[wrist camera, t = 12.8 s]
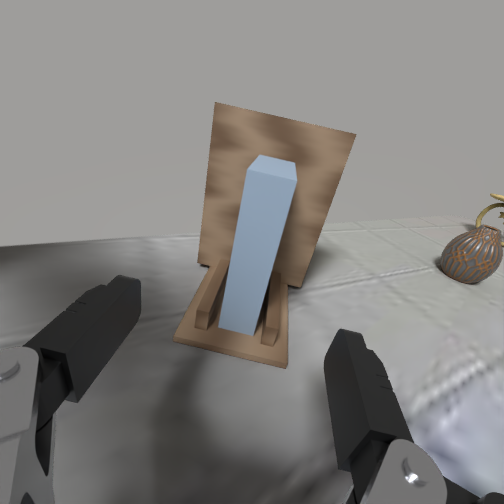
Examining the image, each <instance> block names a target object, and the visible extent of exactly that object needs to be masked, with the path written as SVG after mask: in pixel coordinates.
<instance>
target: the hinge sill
mask: <svg viewBox="0 0 504 504" xmlns="http://www.w3.org/2000/svg"><path fill="white" fill-rule="evenodd" d="M355 137H356V134H353V133H349V132H344V131H339V130H335V129H330V128H326V127H322V126H318V125H313V124H309V123H305V122H300V121H296V120H291V119H287V118H283V117H278V116H274V115H270V114H265V113H260V112H257V111H252V110H248V109H243V108H239V107H235V106H230V105H226V104H221V103H217V102H215V107H214V116H213V125H212V134H211V143H210V153H209V161H208V171H207V181H206V189H205V198H204V208H203V217H202V225H201V235H200V244H199V253H198V262H197V263H200V264H204V265H208V266H210V267H209V269H208V271H207V273H206V275H205V277H204V279H203V281H202V282H201V284H200V286H199V288H198V290H197V292H196V294H195V296H194V298H193V300H192V301H191V303H190V305H189V307H188V309H187V311H186V313H185V315H184V317H183V319H182V320H181V322H180V324H179V326H178V328H177V330H176V332H175V334H174V336H173V341H174V342H178V343H182V344H186V345H190V346H194V347H199V348H203V349H207V350H211V351H215V352H219V353H223V354H227V355H231V356H235V357H239V358H244V359H248V360H252V361H256V362H260V363H264V364H268V365H272V366H276V367H280V368H284V369H286V366H287V364H288V285H292V286H296V287H301V285H302V282H303V279H304V277H305V274H306V271H307V269H308V266H309V263H310V260H311V258H312V255H313V252H314V249H315V247H316V244H317V241H318V238H319V236H320V233H321V230H322V227H323V225H324V222H325V219H326V217H327V214H328V211H329V208H330V206H331V203H332V200H333V197H334V195H335V191H336V189H337V186H338V184H339V181H340V178H341V175H342V173H343V170H344V167H345V164H346V162H347V159H348V156H349V153H350V151H351V148H352V145H353V142H354V140H355ZM259 155H264V156H268V157H272V158H277V159H281V160H285V161H290V162H294V163H295V167H296V175H297V183H296V187H295V190H294V194H293V197H292V201H291V204H290V208H289V211H288V215H287V219H286V222H285V226H284V229H283V233H282V236H281V240H280V243H279V247H278V250H277V254H276V257H275V261H274V264H273V268H272V271H271V275H270V278H269V282H268V285H267V289H266V292H265V296H264V300H263V303H262V307H261V310H260V314H259V317H258V321H257V324H256V328H255V331H254V335H253V336H251V335H247V334H243V333H239V332H235V331H231V330H227V329H223V328H219V327H218V325H219V320H220V314H221V309H222V303H223V298H224V293H225V287H226V282H227V276H228V271H229V265H230V260H231V254H232V249H233V244H234V238H235V233H236V227H237V222H238V216H239V211H240V205H241V200H242V195H243V189H244V184H245V178H246V173H247V169H248V168H249V166H250V165H251V164H252V163H253V162H254V161H255V159H256V158H257V157H258V156H259Z"/></svg>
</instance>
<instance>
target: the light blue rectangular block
mask: <svg viewBox="0 0 504 504" xmlns="http://www.w3.org/2000/svg"><path fill="white" fill-rule="evenodd" d="M296 183H297V175H296V167H295V163H294V162H290V161H285V160H281V159H277V158H272V157H268V156H264V155H259V156H258V157H257V158H256V159H255V161H254V162H253V163H252V164H251V165H250V166H249V168H248V169H247V173H246V178H245V184H244V189H243V195H242V200H241V205H240V211H239V216H238V222H237V227H236V233H235V238H234V244H233V249H232V254H231V260H230V265H229V271H228V276H227V282H226V287H225V293H224V298H223V303H222V309H221V314H220V320H219V325H218V327H219V328H223V329H227V330H231V331H235V332H239V333H243V334H247V335H251V336H253V335H254V331H255V328H256V324H257V321H258V317H259V314H260V310H261V307H262V303H263V300H264V296H265V292H266V289H267V285H268V282H269V278H270V275H271V271H272V268H273V264H274V261H275V257H276V254H277V250H278V247H279V243H280V240H281V236H282V233H283V229H284V226H285V222H286V219H287V215H288V211H289V208H290V204H291V201H292V197H293V194H294V190H295V187H296Z"/></svg>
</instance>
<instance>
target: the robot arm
mask: <svg viewBox="0 0 504 504" xmlns="http://www.w3.org/2000/svg"><path fill="white" fill-rule="evenodd" d="M140 313H141V283H140V280H138V279H135V278H130V277H126V276H122V275H118V276H116V277H115V278H114V279H113V280H112V281H111V282H110V283H109V284H108V285H107V286H106V285H99V286H97V287H95V288H93V289H91V290H89V291H87V292H85V293H84V294H83V295H82V296H81V297H80V298H78V299H77V300H76V301H75V303H73V304H71V305H70V306H69V307H68V308H67V309H66V311H63V312H62V313H61V314H60V315H59V316H57V317H56V318H55V319H54V320H53V321H52V322H50V323H49V324H48V325H47V326H46V327H45V328H44V329H42V330H41V331H40V332H39V333H38V334H37V335H35V336H34V337H33V338H32V339H31V340H30V341H28V342H27V343H26V344H25V345H23V346H22V347H12V348H7V349H3V350H1V351H0V504H55V500H54V491H53V464H54V448H55V431H56V410H57V409H58V408H59V406H60V405H61V404H62V402H63V401H64V400H67V401H71V402H75V403H78V402H79V400H80V399H81V398H82V396H83V395H84V394H85V392H86V391H87V389H88V388H89V387H90V385H91V384H92V383H93V381H94V380H95V379H96V377H97V376H98V375H99V373H100V372H101V370H102V369H103V368H104V366H105V365H106V364H107V362H108V361H109V360H110V358H111V357H112V356H113V354H114V353H115V351H116V350H117V349H118V347H119V346H120V345H121V343H122V342H123V341H124V339H125V338H126V337H127V335H128V334H129V333H130V331H131V330H132V328H133V327H134V326H135V324H136V323H137V321H138V319H139V316H140ZM324 374H325V381H326V388H327V395H328V402H329V409H330V415H331V422H332V429H333V436H334V443H335V449H336V456H337V463H338V469H340V470H344V471H348V472H351V474H352V479H353V484H352V485H351V487H350V489H349V491H348V493H347V495H346V497H345V499H344V501H343V503H342V504H504V495H503V494H500V493H496V492H492V493H489V494H487V495H485V496H484V497H482V498H479V497H477V496H476V495H474V494H472V493H471V492H469V491H467V490H466V489H464V488H462V487H460V486H459V485H457V484H455V483H454V482H452V481H450V480H449V479H447V478H445V477H444V476H443V475H442V473H441V472H440V470H439V468H438V467H437V465H436V463H435V462H434V461H433V460H432V458H431V457H430V456H429V455H428V454H427V453H426V452H425V451H424V450H423V449H421V448H420V447H419V446H417V445H416V444H415V443H414V441H413V439H412V437H411V434H410V431H409V429H408V426H407V424H406V421H405V419H404V416H403V414H402V411H401V409H400V406H399V403H398V401H397V398H396V396H395V393H394V392H393V388H392V386H391V383H390V380H388V375H387V373H386V370H385V368H384V365H383V363H382V362H381V360H380V359H379V358H378V357H377V355H376V354H375V353H374V351H373V350H369V349H367V347H366V344H365V342H364V339H363V336H362V334H361V333H357V332H353V331H349V330H345V329H339V330H338V332H337V333H336V335H335V337H334V339H333V341H332V343H331V345H330V347H329V349H328V351H327V353H326V356H325V360H324Z"/></svg>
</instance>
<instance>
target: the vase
mask: <svg viewBox="0 0 504 504" xmlns="http://www.w3.org/2000/svg"><path fill="white" fill-rule="evenodd" d="M500 235H501V231H500V230H498V229H496V228H494V227H491V226H488V225H480V226H479V227H477V228H476V229H474V230H471V231H469V232H466V233H464V234H461V235H459V236H457V237H455V238H454V239H453V240H452V241H450V242H449V243H448V245H447V246H446V247H445V249H444V251H443V252H442V255H441V260H440V263H441V267H442V270H443V272H444V273H445V274H446V275H448V276H449V277H451V278H453V279H455V280H457V281H460V282H463V283H476V282H480V281H482V280H484V279H486V278H488V277H489V276H490V275H492V274H493V273H494V272H495V271H496V269H497V268H498V267H499V265H500V263H501V260H502V257H503V250H502V245H501V240H500Z"/></svg>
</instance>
